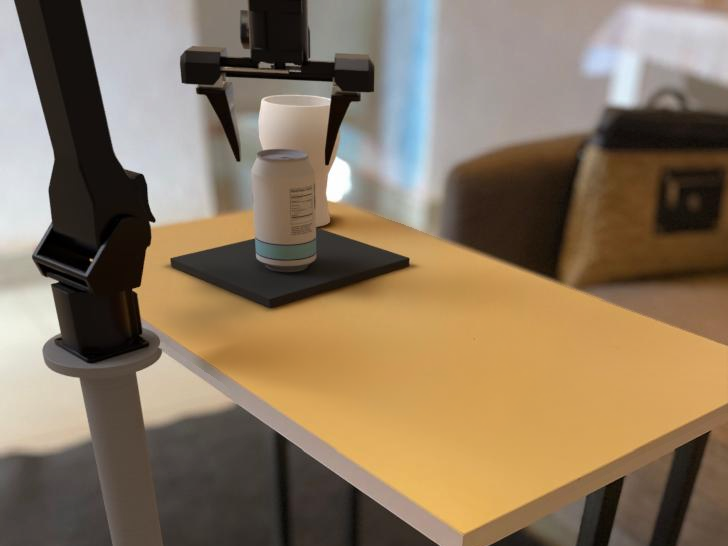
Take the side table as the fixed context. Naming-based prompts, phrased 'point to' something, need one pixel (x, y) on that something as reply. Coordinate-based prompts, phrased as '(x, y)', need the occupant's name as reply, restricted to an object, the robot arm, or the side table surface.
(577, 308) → the side table surface
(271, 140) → the cup
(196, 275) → the mat
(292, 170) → the beverage can
